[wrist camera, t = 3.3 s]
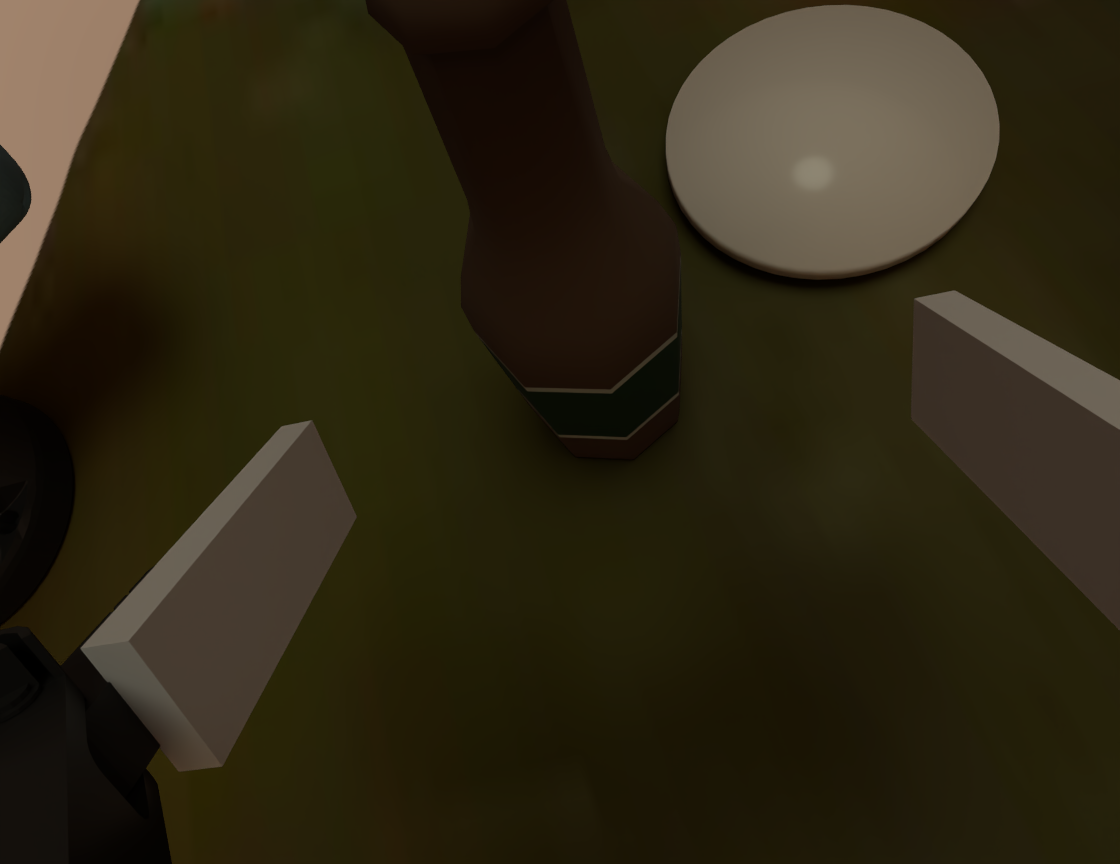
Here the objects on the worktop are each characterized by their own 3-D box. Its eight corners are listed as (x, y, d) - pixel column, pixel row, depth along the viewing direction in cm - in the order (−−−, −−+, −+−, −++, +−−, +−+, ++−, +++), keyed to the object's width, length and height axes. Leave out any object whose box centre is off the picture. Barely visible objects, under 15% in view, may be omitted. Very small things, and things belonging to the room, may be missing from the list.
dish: (609, 161, 37) (604, 137, 35) (818, -9, 37) (825, -42, 35) (813, 349, 32) (821, 332, 30) (1054, 149, 32) (1077, 120, 30)
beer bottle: (511, 429, 33) (146, 41, 11) (578, 305, 35) (378, -277, 12) (645, 493, 31) (541, 172, 9) (712, 357, 33) (775, -236, 10)
